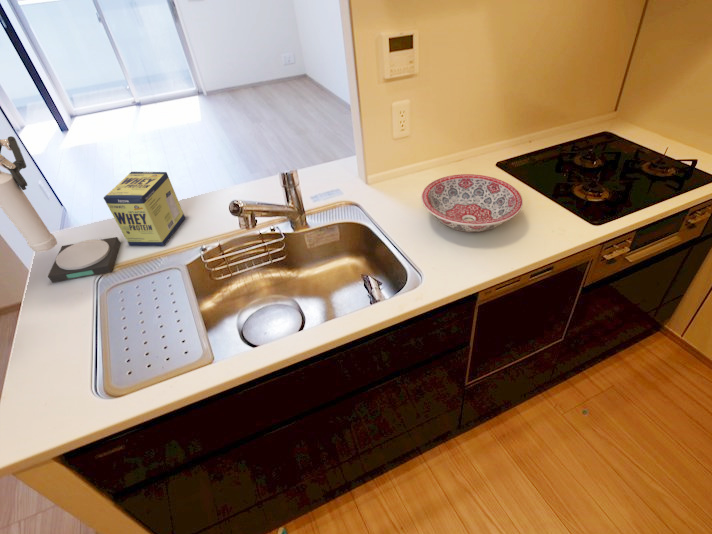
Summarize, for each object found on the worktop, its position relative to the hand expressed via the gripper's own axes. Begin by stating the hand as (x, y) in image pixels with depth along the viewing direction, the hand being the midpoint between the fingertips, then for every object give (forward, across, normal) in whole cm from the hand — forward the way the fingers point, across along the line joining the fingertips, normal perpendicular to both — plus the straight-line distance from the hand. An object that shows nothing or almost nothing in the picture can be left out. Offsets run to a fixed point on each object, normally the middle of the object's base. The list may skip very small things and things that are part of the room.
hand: (7, 193), depth 87 cm
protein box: (+11, +26, +30) cm, 41 cm away
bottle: (+9, 0, +11) cm, 14 cm away
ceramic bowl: (+56, +93, -16) cm, 110 cm away
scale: (+11, +6, +29) cm, 32 cm away
